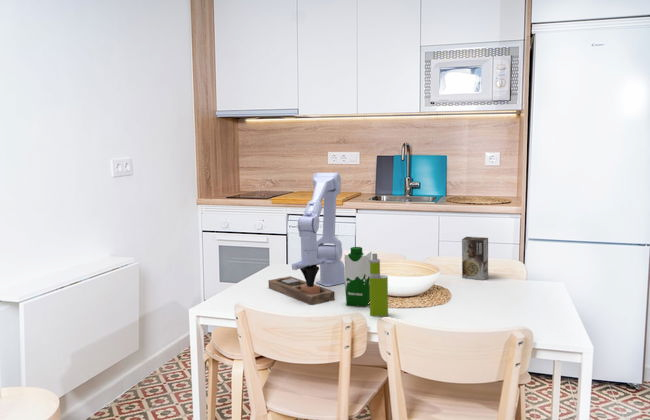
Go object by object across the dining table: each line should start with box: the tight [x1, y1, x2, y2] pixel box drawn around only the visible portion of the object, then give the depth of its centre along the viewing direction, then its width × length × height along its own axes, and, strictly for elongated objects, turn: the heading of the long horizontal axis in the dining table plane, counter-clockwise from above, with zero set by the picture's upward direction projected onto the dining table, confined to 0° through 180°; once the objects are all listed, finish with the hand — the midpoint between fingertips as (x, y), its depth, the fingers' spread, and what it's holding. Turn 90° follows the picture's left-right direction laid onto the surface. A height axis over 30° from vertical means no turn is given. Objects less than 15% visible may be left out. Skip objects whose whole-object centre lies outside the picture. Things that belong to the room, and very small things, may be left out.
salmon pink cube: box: [301, 283, 321, 294], centre depth 204 cm, size 5×5×3 cm
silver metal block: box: [281, 279, 299, 286], centre depth 216 cm, size 5×5×3 cm
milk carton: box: [344, 246, 372, 308], centre depth 195 cm, size 9×9×20 cm
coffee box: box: [461, 236, 489, 281], centre depth 226 cm, size 9×6×16 cm
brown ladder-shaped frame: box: [268, 276, 336, 306], centre depth 210 cm, size 10×30×3 cm, turn 35°
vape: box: [369, 253, 389, 317], centre depth 182 cm, size 4×6×20 cm, turn 81°
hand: (310, 286), depth 204 cm, fingers closed, pressing on salmon pink cube
